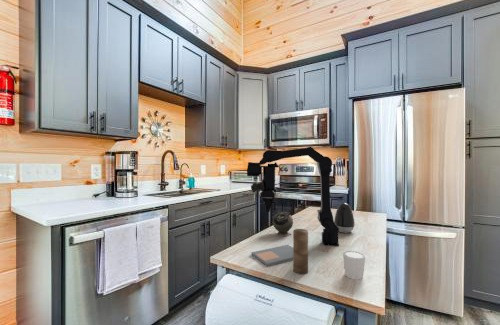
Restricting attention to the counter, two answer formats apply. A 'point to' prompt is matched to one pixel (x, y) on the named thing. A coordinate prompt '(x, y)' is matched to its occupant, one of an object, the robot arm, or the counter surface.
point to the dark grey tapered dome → (344, 218)
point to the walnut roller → (300, 251)
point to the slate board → (274, 255)
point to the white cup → (354, 264)
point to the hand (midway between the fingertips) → (268, 209)
